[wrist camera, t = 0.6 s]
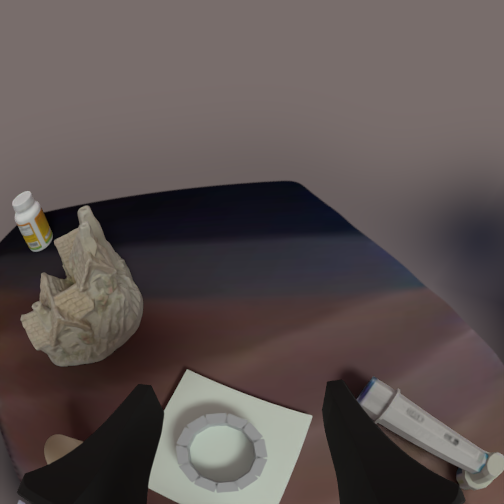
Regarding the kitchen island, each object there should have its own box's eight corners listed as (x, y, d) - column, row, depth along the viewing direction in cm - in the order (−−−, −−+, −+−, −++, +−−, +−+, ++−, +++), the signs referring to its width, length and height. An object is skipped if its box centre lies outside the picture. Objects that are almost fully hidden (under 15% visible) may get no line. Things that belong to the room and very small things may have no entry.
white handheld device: (381, 365, 26) (521, 450, 12) (362, 388, 30) (489, 464, 16) (355, 401, 23) (507, 487, 9) (338, 419, 27) (474, 496, 13)
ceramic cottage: (126, 248, 39) (96, 164, 28) (159, 341, 30) (114, 262, 19) (43, 283, 34) (-6, 213, 22) (55, 381, 25) (-25, 325, 13)
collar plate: (263, 530, 15) (267, 537, 13) (130, 475, 18) (121, 476, 16) (310, 417, 25) (318, 412, 23) (188, 371, 28) (184, 362, 26)
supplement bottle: (48, 227, 41) (31, 184, 34) (57, 240, 39) (37, 194, 32) (27, 243, 38) (6, 201, 31) (34, 257, 36) (11, 213, 29)
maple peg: (103, 485, 17) (70, 485, 12) (74, 463, 17) (38, 456, 12) (118, 458, 19) (88, 453, 14) (88, 437, 20) (55, 425, 15)
